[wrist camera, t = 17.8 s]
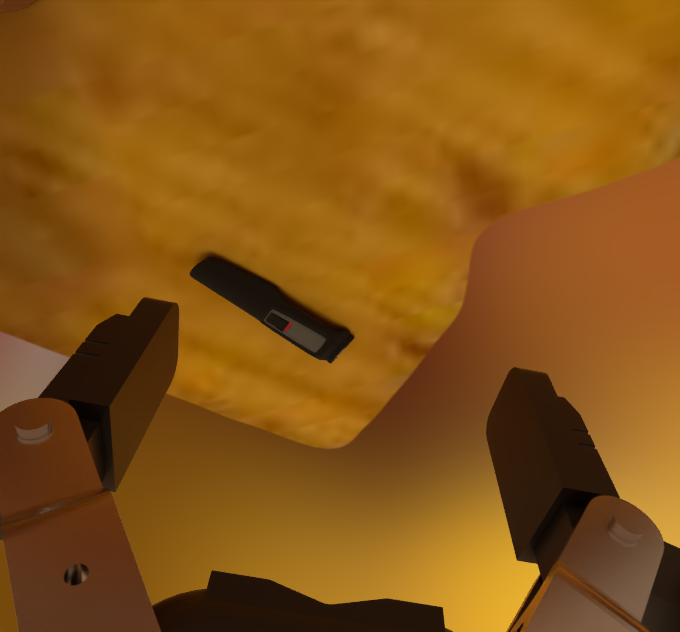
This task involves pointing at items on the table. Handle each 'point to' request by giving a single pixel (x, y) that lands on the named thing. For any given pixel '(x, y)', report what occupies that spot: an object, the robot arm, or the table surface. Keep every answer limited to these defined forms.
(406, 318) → the table surface
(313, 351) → the electric trimmer
